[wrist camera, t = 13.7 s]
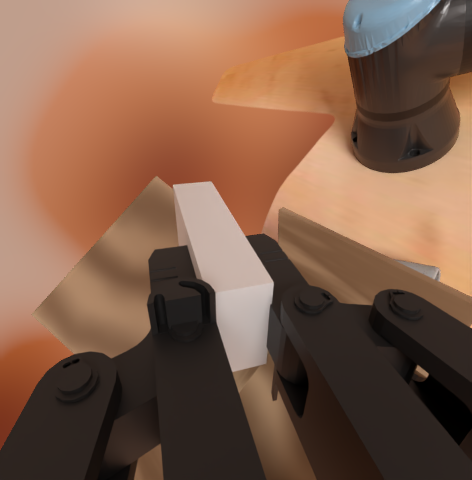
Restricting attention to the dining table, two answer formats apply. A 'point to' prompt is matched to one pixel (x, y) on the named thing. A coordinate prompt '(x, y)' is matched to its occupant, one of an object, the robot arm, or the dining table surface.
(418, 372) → the shipping carton
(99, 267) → the carton flap
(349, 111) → the dining table surface
